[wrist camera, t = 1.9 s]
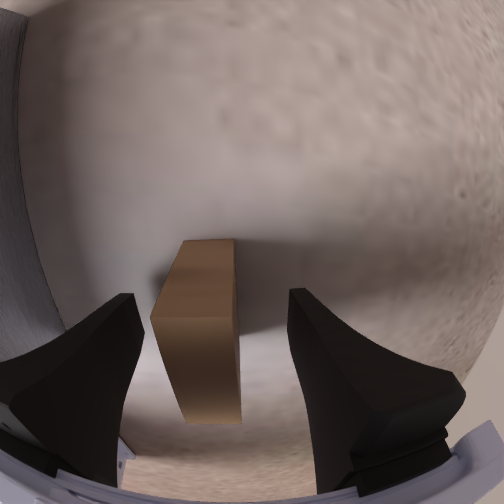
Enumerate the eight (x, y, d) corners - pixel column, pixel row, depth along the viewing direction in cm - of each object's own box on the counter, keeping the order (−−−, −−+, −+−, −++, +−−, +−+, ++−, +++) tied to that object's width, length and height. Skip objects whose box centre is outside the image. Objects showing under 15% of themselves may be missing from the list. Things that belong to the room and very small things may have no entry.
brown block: (239, 335, 13) (241, 423, 8) (198, 336, 13) (185, 423, 8) (233, 238, 11) (231, 316, 6) (183, 240, 11) (149, 317, 6)
